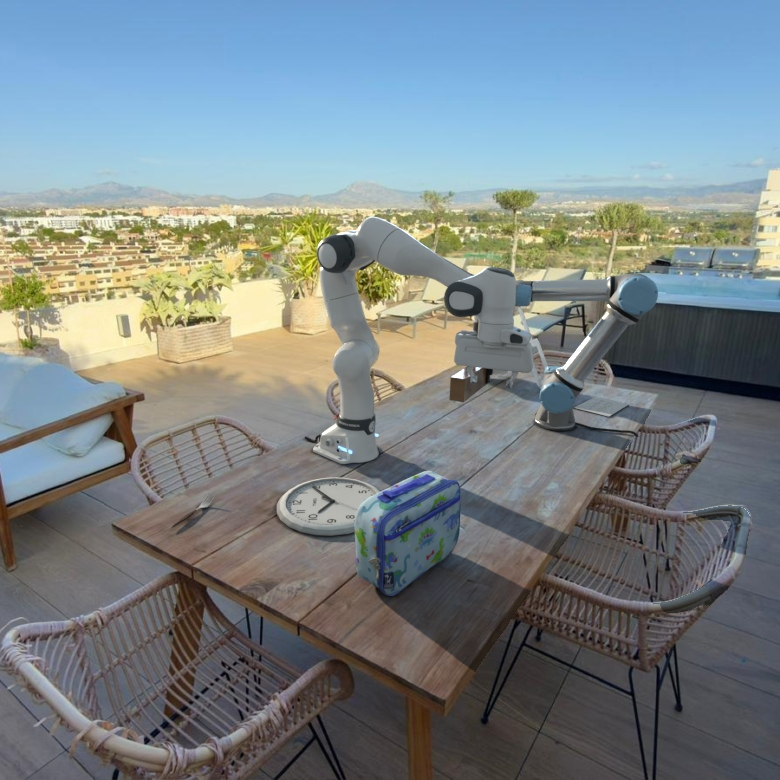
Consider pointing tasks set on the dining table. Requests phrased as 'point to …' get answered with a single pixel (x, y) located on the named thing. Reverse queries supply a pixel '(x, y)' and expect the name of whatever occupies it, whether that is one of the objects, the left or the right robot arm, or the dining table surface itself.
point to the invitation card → (601, 406)
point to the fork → (203, 505)
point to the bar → (466, 384)
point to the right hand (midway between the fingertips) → (479, 381)
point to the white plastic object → (536, 348)
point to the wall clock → (324, 505)
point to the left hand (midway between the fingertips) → (491, 384)
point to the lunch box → (406, 530)
